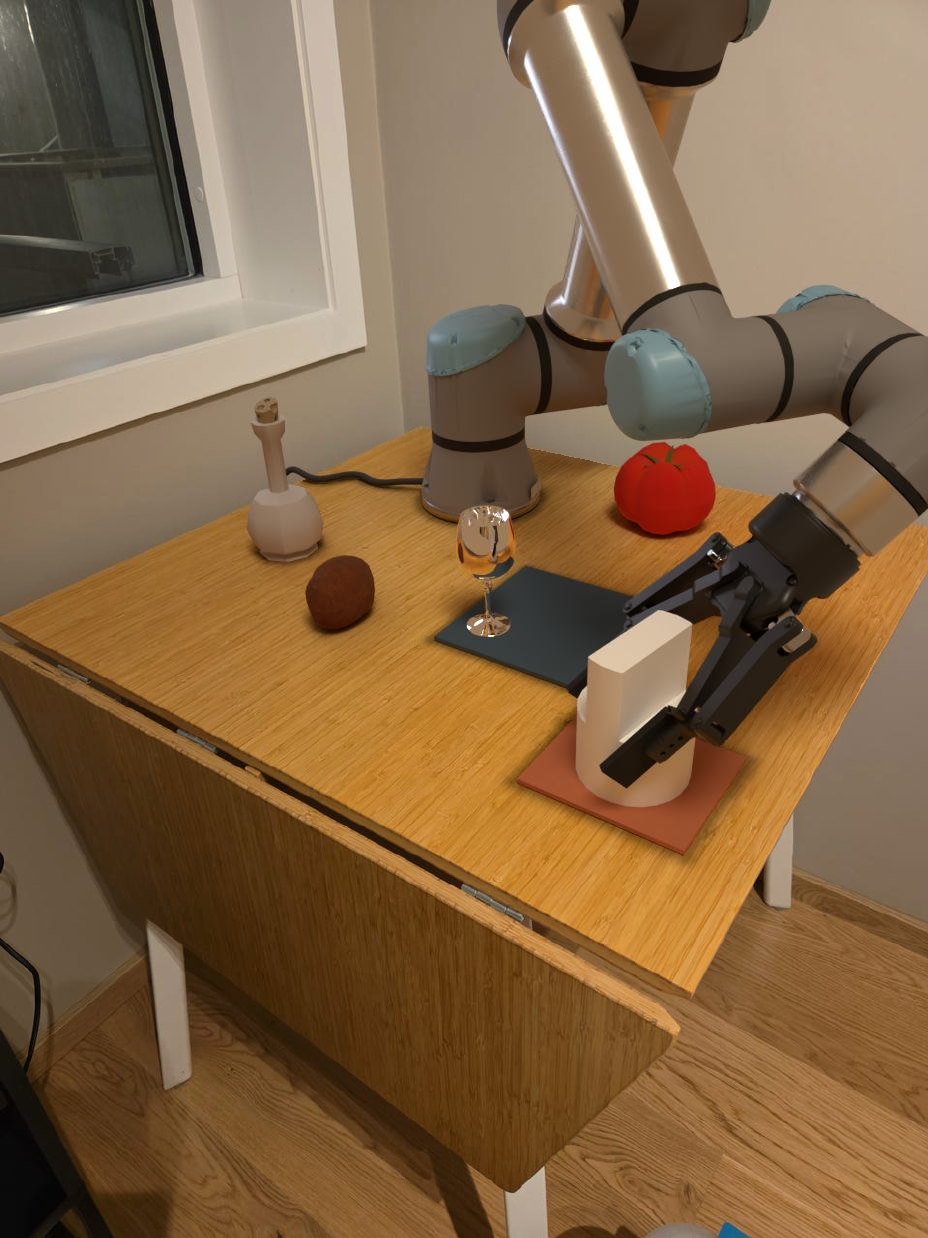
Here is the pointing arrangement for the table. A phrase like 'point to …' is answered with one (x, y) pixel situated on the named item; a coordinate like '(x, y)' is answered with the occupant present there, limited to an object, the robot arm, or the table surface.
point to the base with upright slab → (634, 708)
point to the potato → (340, 591)
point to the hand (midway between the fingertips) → (594, 735)
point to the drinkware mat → (544, 625)
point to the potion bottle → (280, 498)
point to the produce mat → (657, 823)
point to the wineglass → (486, 559)
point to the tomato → (665, 488)
